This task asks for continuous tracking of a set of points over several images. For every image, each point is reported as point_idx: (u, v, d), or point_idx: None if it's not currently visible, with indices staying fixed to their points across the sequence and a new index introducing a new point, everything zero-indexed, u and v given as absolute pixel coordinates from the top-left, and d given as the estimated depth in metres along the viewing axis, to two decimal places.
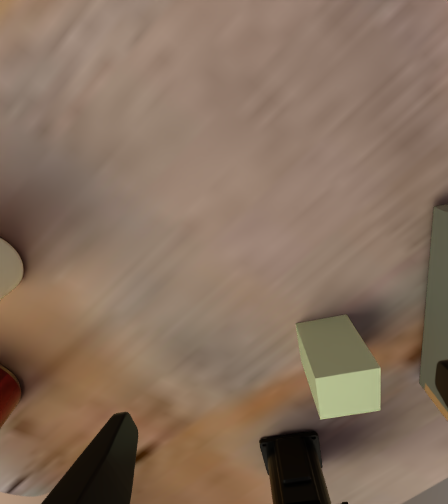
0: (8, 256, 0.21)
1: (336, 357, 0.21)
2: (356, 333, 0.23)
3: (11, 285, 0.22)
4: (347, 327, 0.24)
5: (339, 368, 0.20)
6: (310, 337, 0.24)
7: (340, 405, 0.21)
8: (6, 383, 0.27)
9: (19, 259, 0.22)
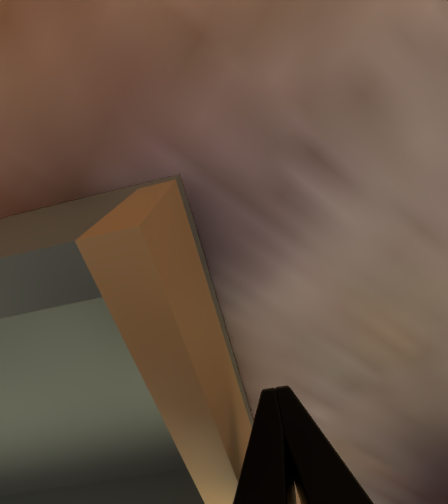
0: None
1: None
2: None
3: None
4: None
5: None
6: None
7: None
8: None
9: None
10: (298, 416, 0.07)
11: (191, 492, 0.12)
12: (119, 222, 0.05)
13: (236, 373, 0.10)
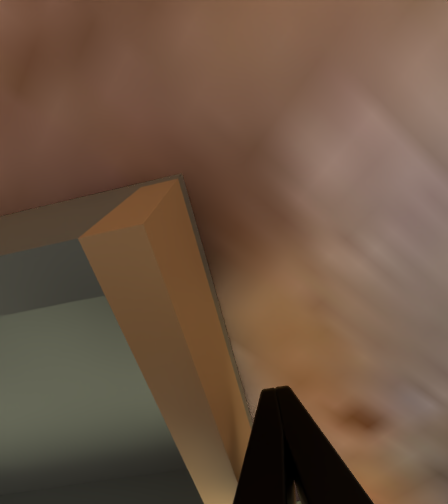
0: None
1: None
2: None
3: None
4: None
5: None
6: None
7: None
8: None
9: None
10: (298, 416, 0.07)
11: (189, 492, 0.12)
12: (122, 220, 0.05)
13: (236, 373, 0.10)
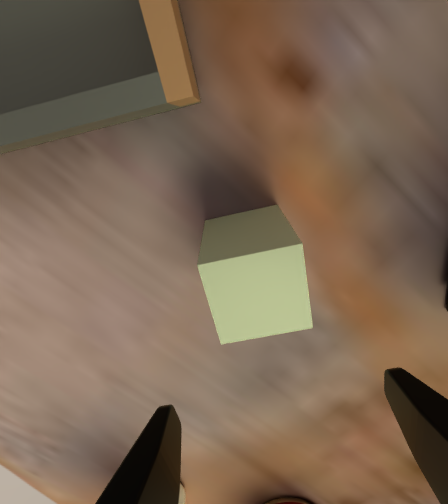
0: None
1: None
2: None
3: None
4: None
5: None
6: None
7: (281, 306, 0.13)
8: None
9: None
10: (429, 396, 0.07)
11: None
12: None
13: None
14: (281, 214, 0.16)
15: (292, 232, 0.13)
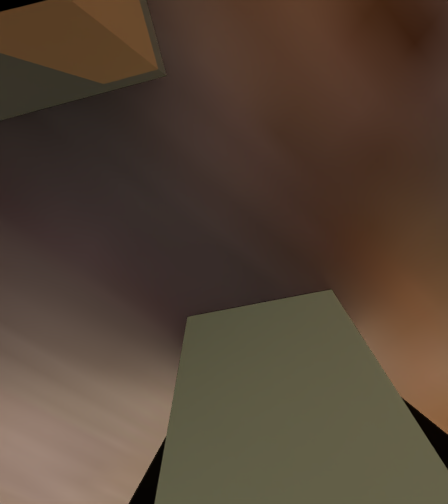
0: None
1: None
2: None
3: None
4: None
5: None
6: None
7: None
8: None
9: None
10: None
11: None
12: None
13: None
14: (354, 333, 0.07)
15: (429, 455, 0.04)
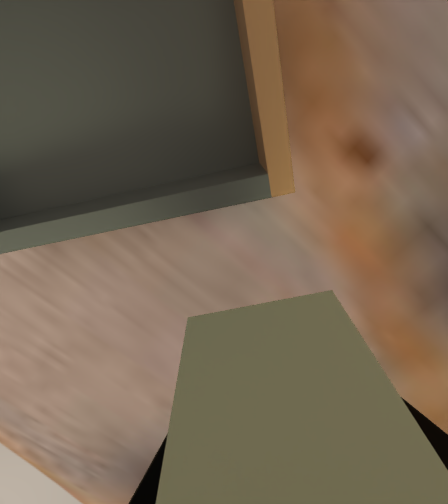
0: None
1: None
2: None
3: None
4: None
5: None
6: None
7: None
8: None
9: None
10: None
11: (222, 173, 0.14)
12: None
13: None
14: (355, 334, 0.07)
15: (430, 456, 0.04)
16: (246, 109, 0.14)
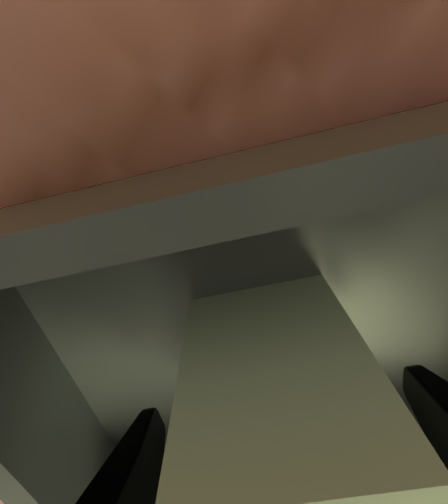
0: None
1: None
2: None
3: None
4: None
5: None
6: None
7: None
8: None
9: None
10: None
11: None
12: None
13: None
14: (340, 310, 0.08)
15: (396, 401, 0.05)
16: None
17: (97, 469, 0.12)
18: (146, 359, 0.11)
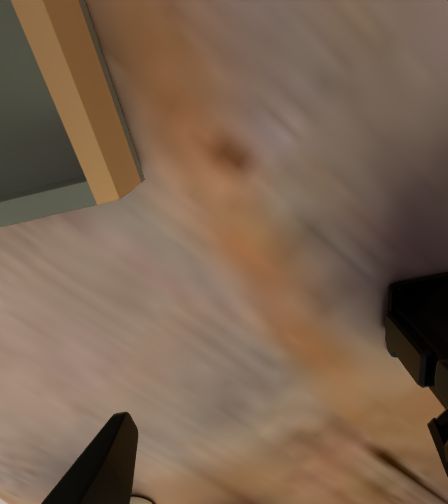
0: None
1: None
2: None
3: None
4: None
5: None
6: None
7: None
8: None
9: None
10: None
11: (73, 179, 0.14)
12: None
13: (100, 57, 0.13)
14: None
15: None
16: None
17: None
18: None
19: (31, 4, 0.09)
